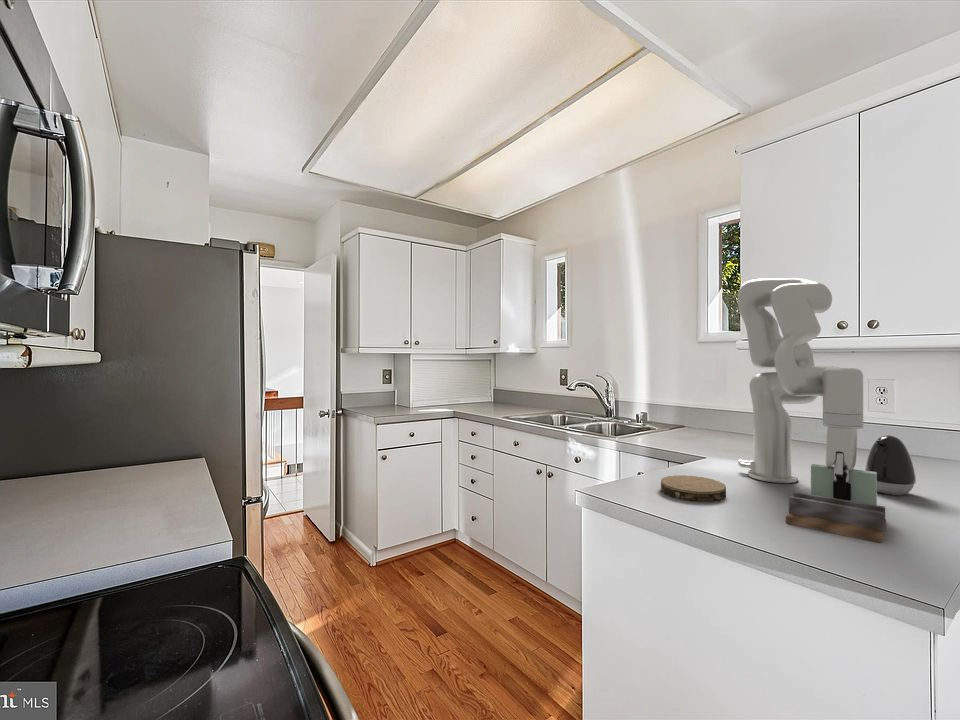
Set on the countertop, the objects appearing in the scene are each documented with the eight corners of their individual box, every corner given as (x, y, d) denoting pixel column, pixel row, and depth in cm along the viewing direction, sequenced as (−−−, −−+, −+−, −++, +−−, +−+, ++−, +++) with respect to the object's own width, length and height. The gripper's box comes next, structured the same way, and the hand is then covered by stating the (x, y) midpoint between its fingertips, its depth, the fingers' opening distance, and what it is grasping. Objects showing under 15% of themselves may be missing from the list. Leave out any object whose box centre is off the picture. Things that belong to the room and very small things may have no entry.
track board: (785, 522, 101) (785, 500, 101) (797, 509, 110) (796, 488, 110) (882, 543, 90) (882, 517, 90) (886, 526, 99) (886, 503, 99)
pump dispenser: (855, 489, 125) (855, 434, 125) (877, 485, 129) (877, 431, 129) (902, 500, 115) (902, 440, 115) (924, 495, 120) (924, 437, 119)
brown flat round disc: (675, 482, 135) (675, 472, 135) (734, 493, 124) (734, 482, 124) (650, 494, 124) (650, 483, 124) (713, 508, 112) (713, 495, 112)
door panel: (811, 506, 112) (810, 465, 112) (812, 504, 114) (812, 463, 113) (875, 518, 103) (875, 474, 103) (876, 515, 105) (876, 472, 105)
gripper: (828, 415, 117) (828, 487, 117) (817, 422, 105) (817, 502, 105) (866, 418, 111) (866, 493, 112) (859, 425, 100) (859, 510, 100)
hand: (842, 497), depth 108 cm, fingers closed on door panel, 2 cm apart
